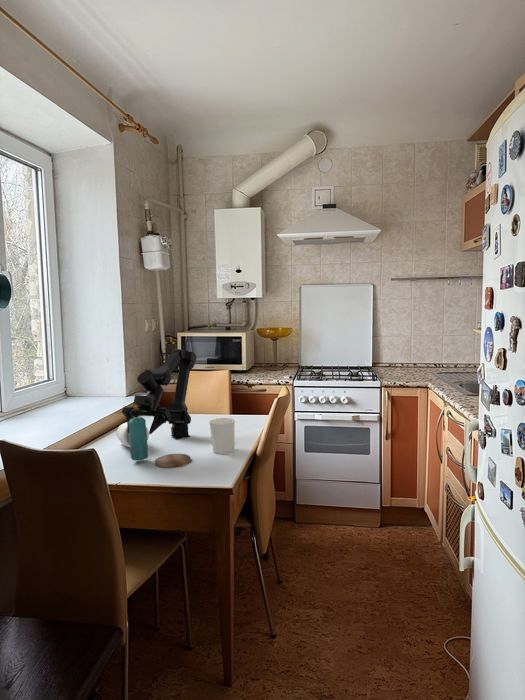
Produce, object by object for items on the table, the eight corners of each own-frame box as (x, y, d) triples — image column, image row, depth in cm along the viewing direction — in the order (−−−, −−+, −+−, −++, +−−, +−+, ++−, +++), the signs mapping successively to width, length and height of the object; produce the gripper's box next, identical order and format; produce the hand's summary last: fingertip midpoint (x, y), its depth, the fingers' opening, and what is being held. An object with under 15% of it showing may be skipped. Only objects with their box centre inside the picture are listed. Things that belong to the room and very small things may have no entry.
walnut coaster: (182, 453, 182) (182, 451, 182) (196, 462, 171) (196, 460, 171) (150, 460, 175) (150, 458, 175) (162, 470, 164) (161, 467, 164)
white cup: (226, 456, 177) (224, 425, 176) (206, 452, 183) (204, 422, 181) (240, 448, 186) (239, 419, 184) (221, 445, 191) (219, 416, 190)
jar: (126, 449, 201) (136, 454, 189) (108, 434, 198) (117, 438, 185) (143, 430, 206) (154, 433, 193) (125, 415, 202) (136, 417, 189)
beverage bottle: (152, 461, 175) (148, 408, 173) (136, 466, 170) (133, 412, 168) (142, 457, 179) (139, 406, 178) (127, 462, 175) (123, 409, 173)
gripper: (122, 386, 181) (107, 421, 171) (165, 386, 175) (152, 422, 166) (135, 402, 189) (121, 436, 179) (176, 403, 183) (164, 438, 174)
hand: (138, 433), depth 174 cm, fingers open, 9 cm apart
